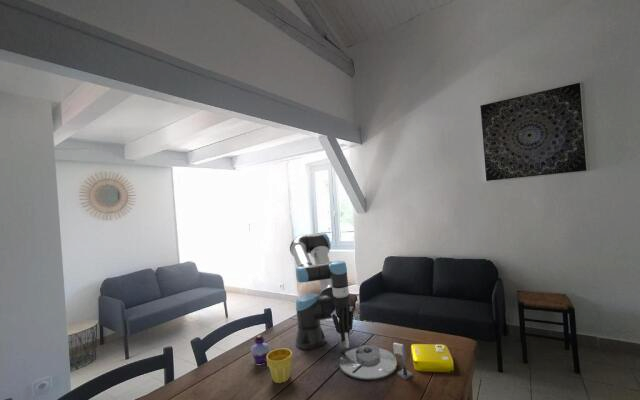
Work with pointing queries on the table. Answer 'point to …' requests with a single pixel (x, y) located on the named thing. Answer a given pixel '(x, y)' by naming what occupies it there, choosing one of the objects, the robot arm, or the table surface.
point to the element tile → (431, 358)
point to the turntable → (362, 372)
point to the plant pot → (279, 364)
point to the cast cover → (368, 355)
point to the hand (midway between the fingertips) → (346, 346)
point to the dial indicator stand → (401, 350)
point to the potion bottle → (260, 350)
